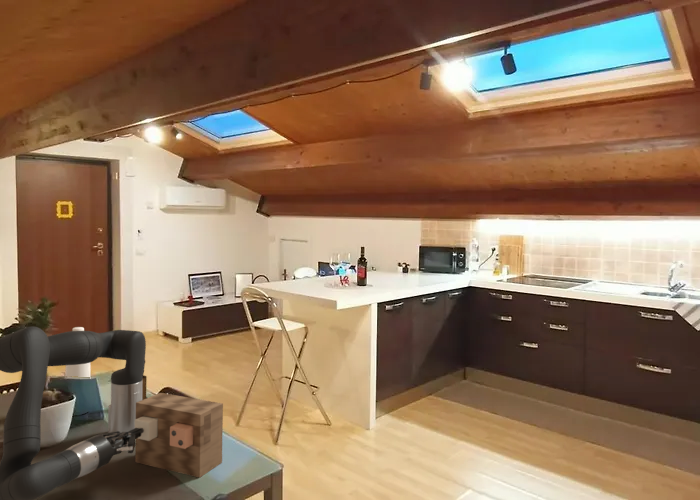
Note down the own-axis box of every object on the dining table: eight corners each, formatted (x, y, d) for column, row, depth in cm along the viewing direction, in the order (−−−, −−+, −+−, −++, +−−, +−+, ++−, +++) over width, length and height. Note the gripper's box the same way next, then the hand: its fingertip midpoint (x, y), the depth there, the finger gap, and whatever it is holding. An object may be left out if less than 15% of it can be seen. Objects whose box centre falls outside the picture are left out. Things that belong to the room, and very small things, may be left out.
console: (135, 462, 151) (135, 402, 150) (160, 448, 160) (160, 392, 159) (199, 477, 143) (200, 414, 142) (222, 462, 152) (222, 403, 151)
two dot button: (169, 445, 142) (169, 427, 142) (182, 438, 147) (182, 420, 147) (184, 449, 140) (184, 430, 140) (197, 441, 145) (197, 423, 145)
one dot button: (134, 438, 146) (134, 420, 146) (147, 431, 151) (147, 414, 151) (148, 441, 145) (148, 422, 144) (161, 434, 149) (162, 416, 149)
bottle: (64, 417, 183) (64, 330, 182) (66, 410, 191) (66, 326, 189) (90, 414, 187) (90, 329, 185) (91, 407, 194) (91, 325, 192)
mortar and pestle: (143, 410, 192) (143, 360, 191) (127, 408, 193) (127, 359, 193) (153, 404, 199) (154, 356, 198) (137, 403, 200) (138, 355, 199)
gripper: (107, 446, 126) (158, 421, 142) (65, 436, 131) (120, 414, 147) (107, 477, 126) (158, 449, 142) (66, 466, 131) (120, 441, 147)
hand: (139, 431), depth 145 cm, fingers closed
